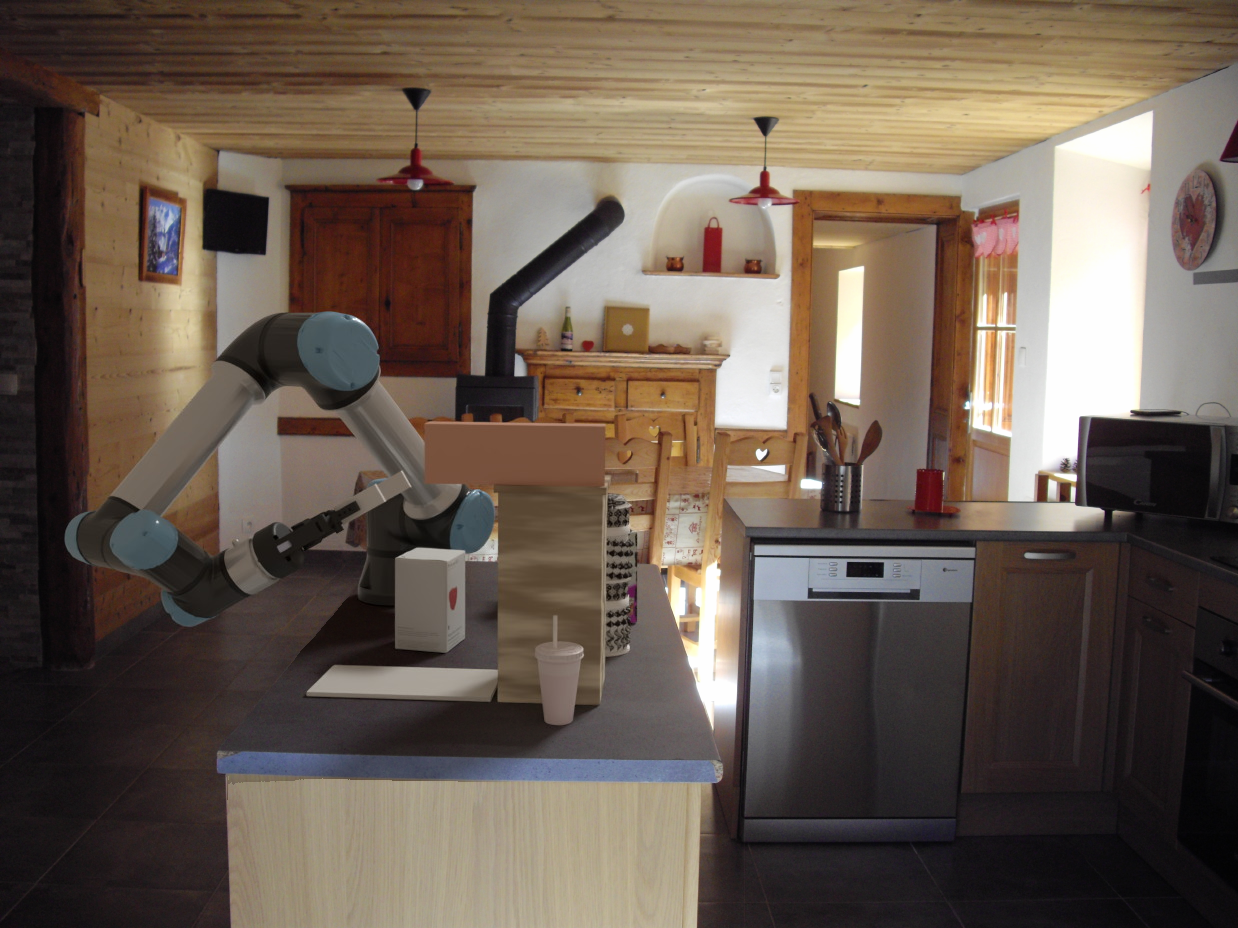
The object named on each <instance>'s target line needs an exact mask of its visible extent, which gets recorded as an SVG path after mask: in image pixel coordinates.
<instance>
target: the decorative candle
mask: <svg viewBox="0 0 1238 928" xmlns="http://www.w3.org/2000/svg"><path fill="white" fill-rule="evenodd" d="M632 506H633V505H632V504H631V503H629V502H628V500H627V498H626V497H625V496H624V495H623V494H620V493H613V492H612V493H610V492H608V494H607V563H606V632H605V658H607V657H618V656H623V655H626V654H627V653H628V652H630V650H631V648H630V643H631V636H630V634H631V633H632V631H631V630H632V628H631V627H630V626H629V624H627V623H628V622H630V621H631V617H630V616H629V615H628V613H630V612H631V607H630V606H629V595H628V581H629V580H630V579H631V577H632V573H630V572H629V571H628V569H630V568H632V567H633V565H632V563H630V562H629V561H628V556H629V558H630V556H632V555H633V554H634V553H633V551H632V550H628V547H632V546H633V545H634V542H633V541H631V540H630V539H629V541H628V534H630V532H632V530H633V529H631V523H630V507H632Z"/></svg>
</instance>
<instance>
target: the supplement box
mask: <svg viewBox="0 0 1238 928" xmlns="http://www.w3.org/2000/svg"><path fill="white" fill-rule="evenodd" d="M394 617H395V618H394V648H395V649H396V650H407V651H417V652H418V651H420V652H430V653H431V652H432V653H443V654H447V653H448V652H449V651H451V650H452V649H453V648H454V647H456V646H457V645H458V644H460V643H461V642H462V641H463V640H465V639H466V554H465V551H464V550H447V549H432V548H415V549H413V550H411V551H409V552H406V553H404V554H403V555H401V556H399V557H396V558H395V605H394Z"/></svg>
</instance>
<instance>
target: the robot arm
mask: <svg viewBox="0 0 1238 928" xmlns="http://www.w3.org/2000/svg"><path fill="white" fill-rule="evenodd" d="M378 350H379V344H378V341H377V338H376V336H375V334H374V333H373V331H372V329H371V328H370V327H369V326H368V325H367V324H366V322H364V321H363V320H361V319H360V318H358V317H356V316H354V315H351V314H347V313H340V312H337V311H322V312H321V311H320V312H285V311H284V312H277V313H272V314H269V315H266V316H264V317H262V318H260V319H258V320H257V321H255V322H253V323H252V324H251V325H249V327H247V328H246V329H244V331H242V332H241V333H240V334H239V335H238V336H236V338H235V339H233V340H232V342H230V344H229V345H228V346H227V347H226V348H225V349H224V350H223V351H222V352H221V354H219V356H218V357H217V358H216V359H215V360H214V362H213V363H212V364H211V366H210V370H211V376H209V378H208V379H207V381H206V382H204V384H203V385H202V386H201V387H200V389H198V391H197V392H196V394H195V395H194V396H193V397H192V398H191V399H190V401H189V402H187V404H186V406H184V408H183V409H182V410H180V412H179V414H178V415H177V416H176V417H175V418H174V419H173V420H172V421H171V423H170V424H169V425H168V427H167V428H166V429H165V430H164V431H162V433H161V435H160V436H159V437H158V438H157V440H156V441H155V442H153V444H152V445H151V446H150V448H149V449H148V450H147V451H146V452H145V453H144V455H143V456H142V457H141V458H140V460H139V461H138V462H137V463H136V464H135V466H134V467H133V468H132V469H131V470H130V471H129V473H128V474H126V476H124V479H122V481H121V482H120V483H118V485H117V486H116V488H114V490H113V491H112V492H111V494H109V496H108V497H107V499H105V500H104V502H103V503H102V504H101V505H100V506H99V508H97V510H90V511H85V512H82V513H81V512H80V514H78V515H76V516H75V517H74V518H72V519H71V520H70V521H69V523H68V525H67V527H66V529H65V533H64V544H65V547H66V550H67V551H68V553H70V555H71V556H72V558H75V559H76V560H78V561H80V562H83V563H85V564H88V565H91V566H93V567H95V568H96V567H97V568H104V569H105V568H107V569H112V570H114V571H118V572H122V573H126V574H130V575H133V576H137V577H138V576H139V577H143V578H145V579H147V580H149V582H152V583H153V584H155V585H156V586H158V587H159V588H161V591H160V592H161V593H160V598H161V603H162V606H163V608H164V610H165V612H166V613H167V614H169V615H170V617H171V619H172V621H174V622H175V623H176V624H179V625H180V626H183V627H187V628H189V627H190V628H191V627H195V626H198V625H200V624H202V623H204V622H206V621H209V620H212V619H214V618H216V617H218V616H219V615H220V614H221V613H223V612H225V611H227V610H228V609H231V608H232V607H233V606H235V605H236V604H238V603H240V602H242V601H243V600H245V599H247V598H249V597H251V596H253V595H256V594H259V592H261V591H263V590H266V589H267V588H268V587H270V586H272V585H274V584H276V583H278V581H279V580H280V579H285V577H288V576H290V575H291V574H294V573H295V572H296V571H298V570H300V569H301V568H303V566H304V563H305V553H304V552H307V551H308V550H310V549H312V548H314V547H315V546H317V545H319V544H321V542H323V540H324V539H326V538H328V537H329V536H331V535H333V534H336V535H337V534H340V533H341V532H343V531H345V528H344V527H343V526H344V525H346V524H348V523H349V522H352V521H354V520H356V519H357V518H359V517H361V516H362V515H364V514H365V527H366V529H365V531H366V533H365V534H366V559H365V563H364V565H363V569H362V573H361V575H360V578H359V582H358V585H357V599H358V601H361V602H363V603H367V604H371V605H375V606H376V605H378V606H395V558H396V557H399V556H401V555H403V554H404V553H406V552H409V551H411V550H413V549H415V548H432V549H447V550H464V551H465V555H467V554H468V555H469V554H473V553H477V552H478V551H480V550H481V549H482V548H483V547H485V544H486V543H487V542H488V541H489V539H490V537H491V535H492V533H493V529H494V526H495V518H496V509H495V504H494V501H493V499H492V497H491V496H490V494H489V493H487V492H485V491H483V490H481V489H478V488H477V489H472V488H470V487H469V486H468V484H425V440H424V439H423V437H422V436H420V434H419V432H417V430H416V428H415V427H414V426H413V424H412V423H411V422H410V421H409V419H408V418H407V416H406V415H405V414H404V412H403V411H402V410H401V408H400V406H398V404H397V403H396V401H394V399H393V397H392V396H391V395H390V394H389V392H388V391H387V389H386V388H385V387H384V385H382V383H381V382H380V376H381V366H380V360H381V359H380V354H378ZM282 387H298V388H302V389H303V390H304V391H305V392H306V393H307V395H308V396H310V399H312V400H313V402H315V404H316V405H317V407H319V409H321V410H323V411H324V412H331V413H332V412H335V414H336V415H337V416H338V417H339V418H340V420H341V421H342V422H343V423H344V425H345V426H346V427H347V428H348V430H349V432H351V433H352V434H353V435H354V437H355V438H356V439H357V441H358V442H359V443H360V444H361V446H362V448H364V449H365V450H366V452H367V453H368V455H370V457H371V458H372V459H373V461H374V462H375V463H376V465H378V467H379V468H380V470H382V472H383V473H384V474H385V476H386V477H384V478H378V479H377V478H376V479H373V480H371V481H370V482H368V484H367V486H366V489H365V487H362V488H361V489H359V490H358V493H356V494H355V495H353V496H350V497H349V498H348V499H345V500H344V501H342V502H340V503H339V504H337V505H334V506H333V509H327V510H326V511H322V512H320V513H318V514H317V515H314V516H313V517H311V518H309V517H308V518H306V519H304V520H301V521H299V522H298V523H296V524H294V525H292V526H290V527H289V526H288V525H286V524H284V523H283V522H279V521H275V522H272V523H270V524H268V525H267V526H265V527H263V528H261V529H259V530H257V531H256V532H255V533H254V534H253V535H250V536H248V537H246V538H244V539H242V540H241V541H240V540H239V539H236V538H235V539H233V540H232V542H231V545H233V546H230V547H228V548H226V549H224V550H222V551H220V552H218V553H216V554H215V555H211V554H210V553H209V552H208V551H206V550H205V549H204V548H202V546H200V545H199V544H197V543H196V542H195V541H194V540H192V539H191V538H190V537H189V536H187V534H185V533H183V532H182V531H181V530H179V528H177V527H176V526H175V525H174V524H173V523H172V522H171V521H170V520H169V519H167V518H164V517H163V516H164V515H165V514H166V512H167V511H168V510H169V509H170V507H171V506H172V505H173V503H174V502H175V501H176V500H177V499H178V498H179V496H180V495H182V493H183V492H184V490H185V489H186V488H187V486H188V485H189V484H190V483H191V482H192V480H193V479H194V478H195V477H196V476H197V474H198V473H199V472H200V470H201V469H202V468H203V467H204V466H205V465H206V463H207V462H208V461H209V460H210V459H211V457H212V456H213V454H214V453H215V452H216V451H217V449H219V447H220V446H221V445H222V444H223V442H224V441H225V440H226V439H227V437H228V436H229V435H230V434H231V432H232V431H233V430H234V429H235V428H236V426H237V425H238V424H239V423H240V421H241V420H242V419H243V418H244V417H245V415H246V414H247V413H248V411H249V410H250V409H251V408H252V406H259V405H262V404H263V403H264V402H265V401H266V399H268V397H269V396H270V395H271V394H272V393H273V392H275V391H277V390H279V389H280V388H282ZM303 550H304V551H303Z"/></svg>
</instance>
